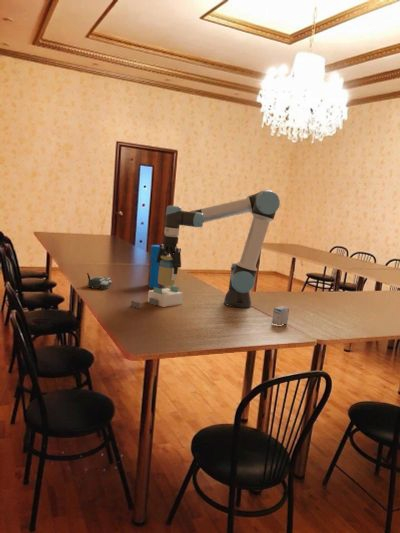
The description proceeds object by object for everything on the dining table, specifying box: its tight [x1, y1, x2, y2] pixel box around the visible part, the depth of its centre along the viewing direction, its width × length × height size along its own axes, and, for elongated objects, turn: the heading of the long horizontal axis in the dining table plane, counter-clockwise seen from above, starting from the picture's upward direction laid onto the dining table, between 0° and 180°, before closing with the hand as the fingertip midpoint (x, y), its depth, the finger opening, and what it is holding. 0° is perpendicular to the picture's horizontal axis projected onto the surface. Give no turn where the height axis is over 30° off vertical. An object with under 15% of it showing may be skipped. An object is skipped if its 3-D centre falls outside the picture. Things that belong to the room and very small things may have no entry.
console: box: [130, 285, 184, 309], centre depth 238 cm, size 12×28×8 cm, turn 138°
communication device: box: [87, 272, 112, 290], centre depth 269 cm, size 12×24×9 cm, turn 176°
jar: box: [158, 254, 176, 287], centre depth 241 cm, size 9×9×15 cm
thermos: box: [147, 244, 166, 289], centre depth 280 cm, size 11×11×25 cm
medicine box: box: [271, 305, 290, 325], centre depth 223 cm, size 8×4×9 cm, turn 141°
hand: (167, 278), depth 242 cm, fingers closed on jar, 9 cm apart
